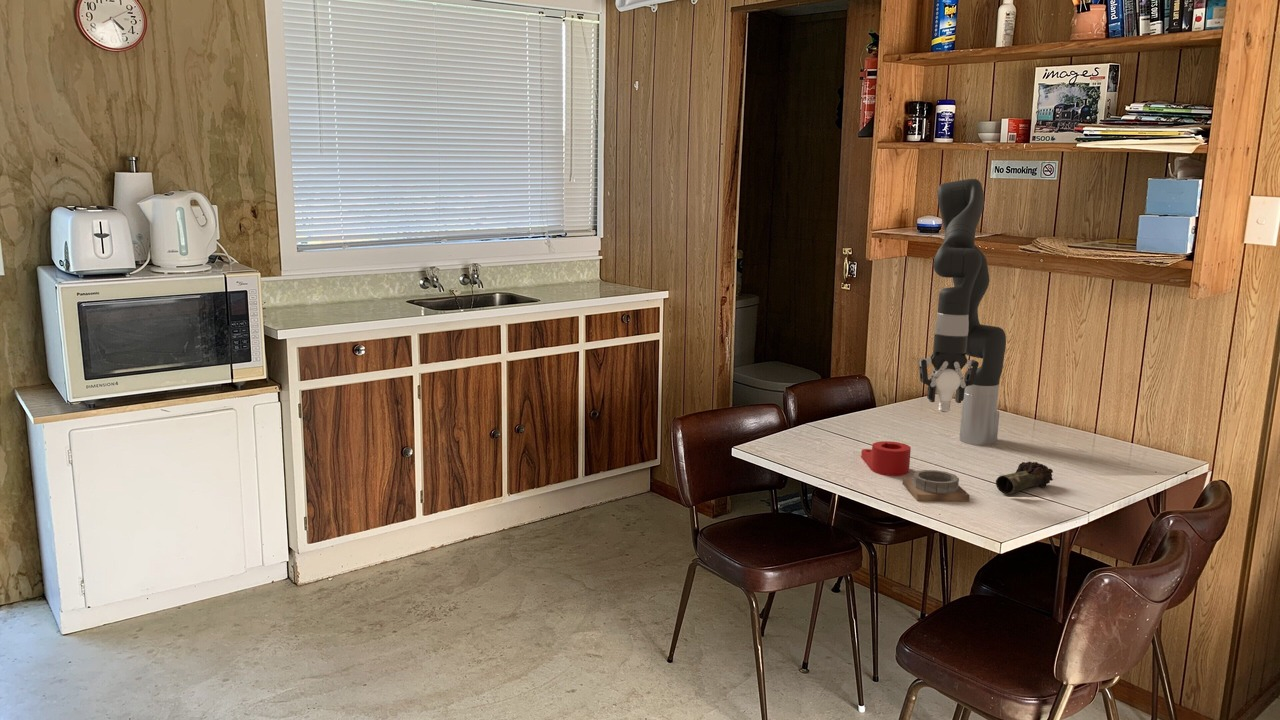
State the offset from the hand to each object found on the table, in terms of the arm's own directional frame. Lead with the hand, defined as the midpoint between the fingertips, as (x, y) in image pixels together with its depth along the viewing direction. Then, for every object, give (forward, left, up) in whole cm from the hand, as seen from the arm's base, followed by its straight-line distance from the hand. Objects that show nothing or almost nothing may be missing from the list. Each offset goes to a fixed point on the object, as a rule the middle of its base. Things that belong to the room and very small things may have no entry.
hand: (944, 401), depth 231 cm
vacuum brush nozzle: (-15, +7, -23) cm, 28 cm away
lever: (+10, -14, -21) cm, 27 cm away
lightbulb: (0, 0, -3) cm, 3 cm away
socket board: (+3, +7, -21) cm, 22 cm away
